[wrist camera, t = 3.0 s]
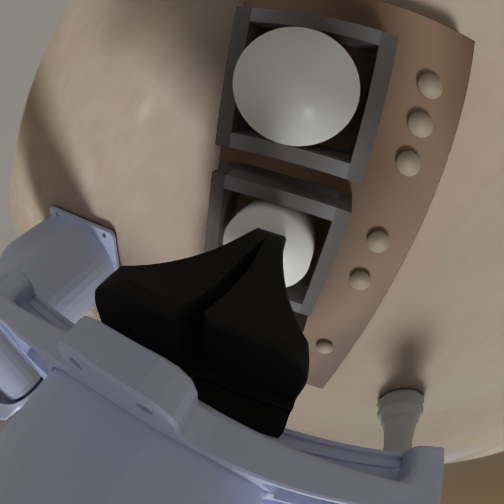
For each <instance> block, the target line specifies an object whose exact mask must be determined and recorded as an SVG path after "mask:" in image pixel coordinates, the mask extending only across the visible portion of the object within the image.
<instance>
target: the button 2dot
mask: <svg viewBox="0 0 504 504" xmlns="http://www.w3.org/2000/svg"><path fill="white" fill-rule="evenodd" d="M256 228H260V229H263V230H266V231H269V232H272V233H275V234H279V235H282V236H285V238H286V243H285V247H284V251H283V270H284V278H285V285H286V287H289V286H292V285H294V284H295V283H297V282H298V281H300V280H301V279H302V278H303V277H304V276H305V274H306V273H307V271H308V269H309V266H310V263H311V259H312V256H313V253H314V249H315V246H316V242H317V236H318V233H317V226H316V222H315V220H314V218H313V216H312V214H308V213H305V212H302V211H299V210H296V209H293V208H289V207H286V206H283V205H280V204H276V203H273V202H270V201H266V200H263V199H259V198H256V197H255V198H253V199H252V200H251V201H249V202H248V203H247V204H246V205H245V206H244V207H243V209H242V210H241V211H240V212H239V213H238V214H237V215H236V216H235V217H234V218H233V219H232V220H231V221H230V223H229V224H228V225H227V227H226V229H225V232H224V236H223V245H225V244H227V243H229V242H231V241H233V240H235V239H237V238H239V237H241V236H243V235H245V234H246V233H248V232H250V231H252V230H254V229H256Z"/></svg>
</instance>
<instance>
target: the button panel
mask: <svg viewBox="0 0 504 504" xmlns="http://www.w3.org/2000/svg"><path fill="white" fill-rule="evenodd" d="M284 27H304V28H309V29H313V30H316V31H319V32H322V33H324V34H326V35H327V36H329V37H331V38H332V39H334V40H335V41H337V42H338V43H339V44H340V45H341V46H342V47H343V48H344V49H345V50H346V51H347V53H348V54H349V55H350V57H351V59H352V60H353V62H354V64H355V66H356V69H357V72H358V75H359V80H360V97H359V103H358V106H357V109H356V111H355V113H354V115H353V117H352V119H351V120H350V121H349V123H348V124H347V125H346V126H345V127H344V128H343V130H341V131H340V132H339V133H338V134H336V135H335V136H333V137H332V138H330V139H328V140H326V141H323V142H321V143H317V144H314V145H308V146H289V145H284V144H280V143H277V142H274V141H272V140H270V139H267V138H266V137H264V136H262V135H261V134H259V133H258V132H257V131H255V130H254V129H253V128H252V127H251V126H250V125H249V124H248V123H247V122H246V120H245V119H244V118H243V116H242V115H241V113H240V111H239V109H238V107H237V105H236V102H235V98H234V93H233V74H234V70H235V66H236V64H237V61H238V59H239V57H240V56H241V54H242V53H243V51H244V50H245V49H246V47H247V46H248V45H249V44H250V43H251V42H253V41H254V40H255V39H256V38H258V37H259V36H261V35H263V34H265V33H267V32H269V31H272V30H275V29H278V28H284ZM474 45H475V41H474V40H472V39H470V38H468V37H466V36H465V35H463V34H461V33H459V32H457V31H455V30H453V29H451V28H449V27H447V26H445V25H443V24H441V23H438V22H436V21H434V20H432V19H429V18H427V17H425V16H422V15H420V14H417V13H415V12H412V11H409V10H407V9H404V8H401V7H398V6H395V5H392V4H389V3H386V2H383V1H380V0H245V3H244V7H237V8H236V13H235V19H234V24H233V29H232V35H231V40H230V46H229V52H228V58H227V64H226V70H225V77H224V83H223V90H222V97H221V104H220V111H219V119H218V126H217V134H216V143H215V144H216V145H221V153H220V161H219V168H218V169H216V170H214V171H213V172H212V178H211V188H210V198H209V209H208V221H207V233H206V246H205V252H208V251H211V250H213V249H216V248H218V247H220V246H223V236H224V232H225V229H226V227H227V225H228V224H229V223H230V221H231V220H232V219H233V218H234V217H235V216H236V215H237V214H238V213H239V212H240V211H241V210H242V209H243V207H244V206H245V205H246V204H247V203H248V202H249V201H251V200H252V199H253V198H255V197H256V198H259V199H263V200H266V201H270V202H273V203H276V204H280V205H283V206H286V207H289V208H293V209H296V210H299V211H302V212H305V213H308V214H312V216H313V218H314V220H315V222H316V226H317V233H318V236H317V242H316V246H315V249H314V253H313V256H312V259H311V263H310V266H309V269H308V271H307V273H306V274H305V276H304V277H303V278H302V279H301V280H300V281H298V282H297V283H295V284H294V285H292V286H289V287H286V289H287V294H288V297H289V301H290V304H291V307H292V309H293V312H294V315H295V318H296V320H297V322H298V324H299V326H300V328H301V330H302V332H303V334H304V336H305V338H306V339H307V341H308V343H309V374H308V380H307V382H306V384H309V385H312V386H316V387H319V388H322V389H323V387H324V386H325V385H326V383H327V382H328V381H329V379H330V378H331V377H332V375H333V374H334V373H335V371H336V370H337V369H338V367H339V366H340V364H341V363H342V362H343V360H344V359H345V357H346V356H347V355H348V353H349V352H350V350H351V349H352V347H353V346H354V344H355V343H356V341H357V340H358V338H359V337H360V335H361V334H362V332H363V331H364V329H365V328H366V326H367V325H368V323H369V321H370V320H371V318H372V317H373V315H374V313H375V312H376V310H377V308H378V307H379V305H380V303H381V302H382V300H383V298H384V297H385V295H386V293H387V291H388V290H389V288H390V286H391V284H392V282H393V281H394V279H395V277H396V275H397V273H398V271H399V270H400V268H401V266H402V264H403V262H404V260H405V258H406V256H407V254H408V252H409V250H410V248H411V246H412V244H413V242H414V240H415V238H416V236H417V234H418V231H419V229H420V227H421V225H422V223H423V220H424V218H425V216H426V214H427V211H428V209H429V207H430V204H431V202H432V199H433V197H434V194H435V192H436V189H437V187H438V184H439V182H440V179H441V176H442V173H443V171H444V168H445V165H446V162H447V159H448V156H449V153H450V150H451V147H452V144H453V141H454V137H455V134H456V131H457V127H458V124H459V120H460V116H461V112H462V108H463V104H464V100H465V96H466V91H467V87H468V82H469V76H470V71H471V65H472V59H473V52H474Z"/></svg>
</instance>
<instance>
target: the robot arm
mask: <svg viewBox="0 0 504 504" xmlns="http://www.w3.org/2000/svg"><path fill="white" fill-rule="evenodd" d="M50 215H51V216H50V217H49V218H47V219H45V220H44V221H42V222H41V223H39V224H38V225H36V226H35V227H33V228H32V229H30V230H29V231H27V232H26V233H24V234H23V235H21V236H20V237H19V238H17V239H16V240H14V241H13V242H12V243H10V244H9V245H8V246H7V247H6V248H5V250H4V251H3V253H2V255H1V257H0V419H1V420H6V419H7V418H8V417H9V416H12V415H13V414H14V413H15V412H17V411H18V410H19V411H18V413H17V414H16V415H15V416H14V418H13V419H12V420H11V422H10V423H9V424H8V426H7V427H6V428H5V429H4V431H3V432H2V434H1V435H0V504H439V503H440V496H441V488H442V479H443V466H444V448H443V447H431V446H416V447H413V448H411V449H409V450H407V451H406V452H405V453H398V452H390V451H383V450H377V449H370V448H365V447H359V446H354V445H349V444H344V443H339V442H335V441H331V440H326V439H322V438H318V437H314V436H311V435H307V434H303V433H300V432H296V431H293V430H290V429H286V428H285V426H286V423H287V420H288V417H289V414H290V412H291V411H292V409H293V406H294V403H295V400H296V398H297V397H298V395H299V394H300V392H301V391H302V389H303V388H304V386H305V385H306V382H307V380H308V374H309V343H308V341H307V339H306V338H305V336H304V334H303V332H302V330H301V328H300V326H299V324H298V322H297V320H296V318H295V315H294V312H293V309H292V307H291V304H290V301H289V297H288V294H287V289H286V285H285V278H284V270H283V251H284V247H285V243H286V238H285V236H282V235H279V234H275V233H272V232H269V231H266V230H263V229H260V228H256V229H254V230H252V231H250V232H248V233H246V234H245V235H243V236H241V237H239V238H237V239H235V240H233V241H231V242H229V243H227V244H225V245H223V246H220V247H218V248H216V249H213V250H211V251H208V252H205V253H202V254H199V255H196V256H193V257H189V258H185V259H181V260H176V261H172V262H166V263H160V264H152V265H139V266H120V265H119V259H118V253H117V246H116V238H115V234H114V232H113V231H112V230H110V229H107V228H105V227H102V226H100V225H98V224H95V223H93V222H90V221H88V220H85V219H83V218H81V217H78V216H76V215H74V214H71V213H69V212H66V211H64V210H62V209H59V208H57V207H55V206H52V207H50ZM95 303H96V306H97V309H98V312H99V315H100V318H101V321H102V322H100V321H99V320H96V319H94V318H91V317H89V316H84V317H83V318H81V317H82V316H83V315H84V314H85V313H86V312H87V311H88V310H89V309H90V308H91V307H92V306H93V305H94V304H95ZM80 318H81V319H80ZM79 319H80V320H79ZM78 320H79V321H78ZM77 321H78V322H77ZM76 322H77V323H76ZM75 323H76V324H75Z"/></svg>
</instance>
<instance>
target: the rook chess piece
mask: <svg viewBox="0 0 504 504" xmlns="http://www.w3.org/2000/svg"><path fill="white" fill-rule="evenodd" d="M423 403H424V397H423V396H422V395H421V394H420V393H419V392H418V391H416V390H413V389H398V390H394V391H391V392H389V393H387V394H386V395H384V396H383V397H382V398H381V399H380V400H379V402H378V404H377V406H378V409H379V410H378V412H377V416H378V419H379V421H380V422H381V426H382V427H383V430H384V448H383V451H390V452H398V453H405V452H406V451H407V450H409V449H411V447H412V439H413V434H414V429H415V426H416V424H417V423H418V421H419V420H418V419H419V418H420V416H421V415H422V413H423V405H422V404H423Z"/></svg>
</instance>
